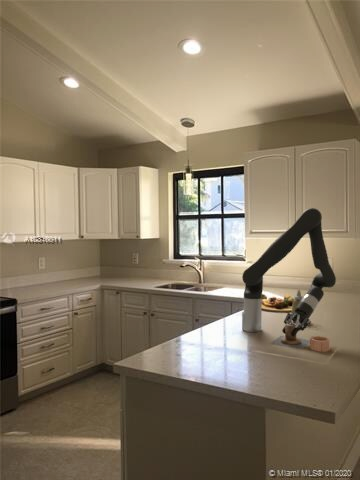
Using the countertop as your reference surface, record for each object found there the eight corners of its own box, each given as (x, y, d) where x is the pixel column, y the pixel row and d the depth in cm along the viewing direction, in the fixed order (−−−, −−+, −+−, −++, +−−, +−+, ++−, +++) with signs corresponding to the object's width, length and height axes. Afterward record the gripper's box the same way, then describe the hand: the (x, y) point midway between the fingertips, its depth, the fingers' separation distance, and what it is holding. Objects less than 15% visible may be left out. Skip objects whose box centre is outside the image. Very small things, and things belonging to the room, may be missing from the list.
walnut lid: (278, 342, 188) (278, 325, 187) (284, 338, 195) (284, 321, 195) (297, 345, 183) (297, 328, 182) (303, 341, 190) (303, 324, 190)
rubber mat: (269, 345, 186) (269, 343, 186) (280, 336, 200) (280, 335, 200) (302, 350, 178) (302, 349, 178) (311, 341, 192) (311, 340, 192)
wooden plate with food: (243, 305, 277) (243, 293, 277) (280, 301, 291) (281, 289, 290) (273, 316, 248) (273, 302, 248) (312, 310, 262) (313, 298, 261)
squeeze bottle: (305, 320, 234) (306, 289, 233) (306, 323, 226) (306, 291, 225) (291, 319, 236) (291, 288, 235) (291, 322, 228) (291, 290, 227)
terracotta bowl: (308, 350, 178) (308, 339, 177) (313, 346, 184) (313, 335, 184) (327, 353, 173) (327, 342, 173) (331, 349, 180) (331, 337, 180)
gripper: (292, 298, 198) (273, 325, 193) (314, 303, 185) (294, 332, 180) (300, 308, 201) (281, 335, 196) (322, 313, 188) (303, 342, 183)
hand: (287, 333), depth 188 cm, fingers closed on walnut lid, 5 cm apart
